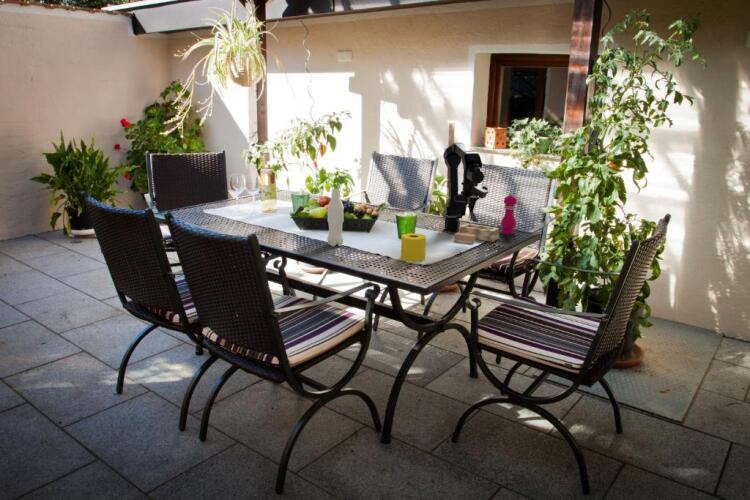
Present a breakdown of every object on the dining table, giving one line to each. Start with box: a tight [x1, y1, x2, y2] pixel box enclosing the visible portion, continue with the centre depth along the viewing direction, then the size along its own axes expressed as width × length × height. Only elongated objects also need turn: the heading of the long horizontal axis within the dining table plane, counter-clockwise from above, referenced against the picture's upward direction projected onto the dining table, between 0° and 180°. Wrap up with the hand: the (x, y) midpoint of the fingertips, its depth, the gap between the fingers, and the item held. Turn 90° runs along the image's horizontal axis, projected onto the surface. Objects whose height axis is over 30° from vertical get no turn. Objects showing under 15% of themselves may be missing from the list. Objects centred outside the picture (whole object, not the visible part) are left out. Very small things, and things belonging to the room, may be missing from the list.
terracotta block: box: [453, 232, 477, 242], centre depth 281 cm, size 9×4×2 cm, turn 66°
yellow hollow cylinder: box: [400, 232, 427, 263], centre depth 251 cm, size 10×10×9 cm
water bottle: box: [326, 188, 345, 247], centre depth 267 cm, size 7×7×25 cm
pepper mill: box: [500, 191, 518, 235], centre depth 296 cm, size 7×7×20 cm
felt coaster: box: [455, 239, 477, 244], centre depth 282 cm, size 9×9×1 cm
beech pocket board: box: [459, 223, 500, 243], centre depth 288 cm, size 16×8×5 cm, turn 59°
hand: (467, 214), depth 279 cm, fingers open, 9 cm apart
